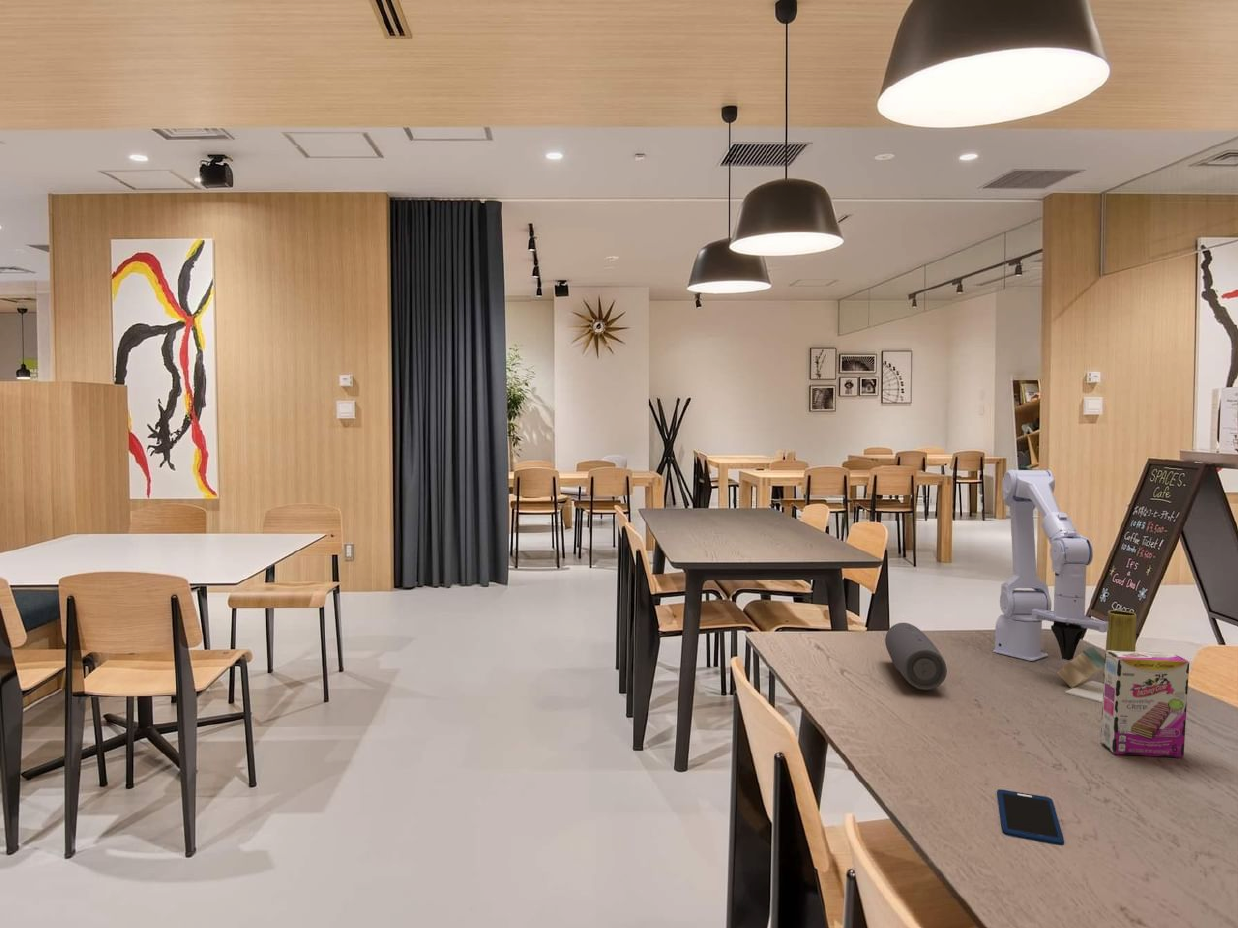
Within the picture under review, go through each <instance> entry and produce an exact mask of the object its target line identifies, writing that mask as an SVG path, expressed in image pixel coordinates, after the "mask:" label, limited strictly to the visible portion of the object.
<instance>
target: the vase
mask: <svg viewBox="0 0 1238 928" xmlns="http://www.w3.org/2000/svg"><path fill="white" fill-rule="evenodd" d="M1107 622H1108V631H1107V632H1106V638H1105V639H1106V641H1105V651H1108V650H1110V651H1132V652H1137V651H1136V644H1137V643H1136V641H1137V640H1136V636H1137V635H1136V634H1137V633H1136V632H1137V614H1136V612H1133V611H1127V610H1119V609H1112V610H1111V609H1110V610H1108V611H1107ZM1105 653H1106V652H1105ZM1105 653H1104V654H1105ZM1104 669H1105V666H1104V667H1103V670H1104ZM1102 675H1103V676H1104V671H1103V673H1102Z"/></svg>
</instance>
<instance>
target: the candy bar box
mask: <svg viewBox="0 0 1238 928" xmlns="http://www.w3.org/2000/svg"><path fill="white" fill-rule="evenodd" d="M1105 652H1106V653H1104V658H1105V669H1104V668H1103V672H1104V675H1103V683H1104V687H1103V703H1102V707H1101V708H1102V710H1101V725H1100V727H1101V728H1100V744H1101V745H1102V746H1104V747H1105V748H1106V750H1108V751H1109V752H1110V753H1112V754H1114V755H1128V756H1143V757H1144V756H1145V757H1146V756H1147V757H1165V758H1168V757H1169V758H1184V753H1185V752H1184V751H1185V740H1186V739H1185V738H1186V736H1185V735H1186V723H1187V722H1186V720H1187V705H1188V702H1187V701H1188V690H1189V688H1188V687H1189V677H1190V676H1189V673H1190V661H1189V660H1187V659H1186V658H1183V657H1181V656H1179V655H1177V654H1175V653H1172V652H1170V653H1169V652H1152V651H1150V652H1149V651H1146V652H1144V651H1136V652H1132V651H1110V650H1108V651H1106V650H1105Z"/></svg>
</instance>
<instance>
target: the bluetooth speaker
mask: <svg viewBox="0 0 1238 928" xmlns="http://www.w3.org/2000/svg"><path fill="white" fill-rule="evenodd" d="M884 642H885V647H886V650H887V653H888V655H889V657H890V659H891V660H890V661H891V662H892V663H893V665H894V666H895V668H896V669H897V671H898V672H899V674H900V675H901V676H902V677H903V678H904V679H905V680H906V681H907V683H908V684H910V685H911V686H913V687H914V688H916V689H918V690H921V691H922V690H924V691H926V690H927V691H928V690H934V689H936V688H938V687H940V686H941V685H942V684H943V683H944V681H945V680H946V677H947V674H948V672H947V671H948V670H947V665H946V661H945V659H944V657H943V655H942V654H941V652H940V651H939V649H938V648H937V647H936V645H935V644H934V643H933V642H932V640H931V639H930V638H929V637H928V636H927V635H926V634H925V633H924V632H923V630H921V629H919V628H918V627H917V626H915V625H913V624H911V623H908V622H899V623H896V624H893V625H891V626H890V627H889V629H888V630H887V632H886V633H885V638H884Z"/></svg>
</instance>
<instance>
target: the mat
mask: <svg viewBox="0 0 1238 928" xmlns="http://www.w3.org/2000/svg"><path fill="white" fill-rule="evenodd" d="M1103 687H1104V682H1099V681H1097V680H1096V681H1095V680H1090V681H1087V682H1084V683H1082V684H1081V685H1079V686H1077V687H1074V688H1072V689H1071V688H1069V689H1067V690H1065V691H1064V693H1065V694H1068V695H1071V696H1076V697H1079V698H1084V699H1087V700H1090V701H1093V702H1099V703H1102V704H1103Z"/></svg>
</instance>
